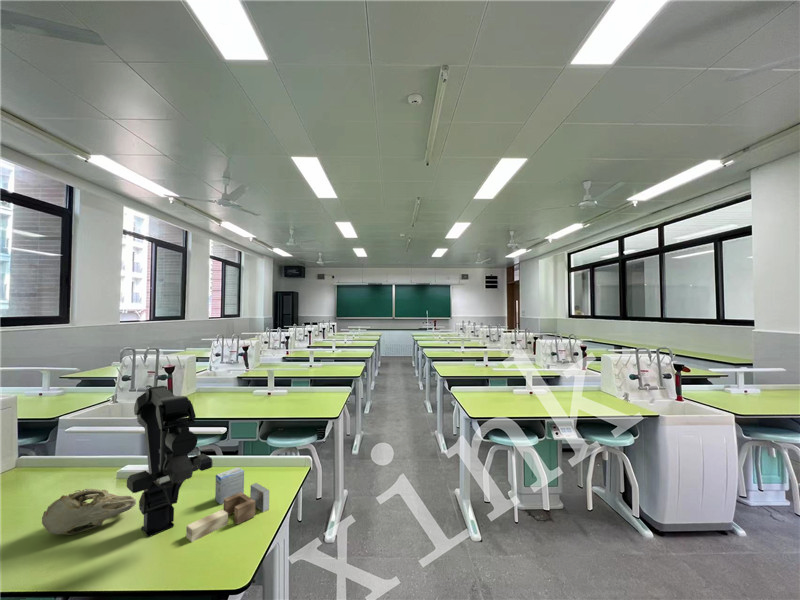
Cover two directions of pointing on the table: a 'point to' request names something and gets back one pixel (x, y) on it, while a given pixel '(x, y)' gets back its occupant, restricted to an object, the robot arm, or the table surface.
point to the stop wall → (260, 496)
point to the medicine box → (229, 484)
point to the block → (206, 525)
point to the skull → (84, 510)
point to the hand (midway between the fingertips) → (171, 503)
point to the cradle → (240, 507)
